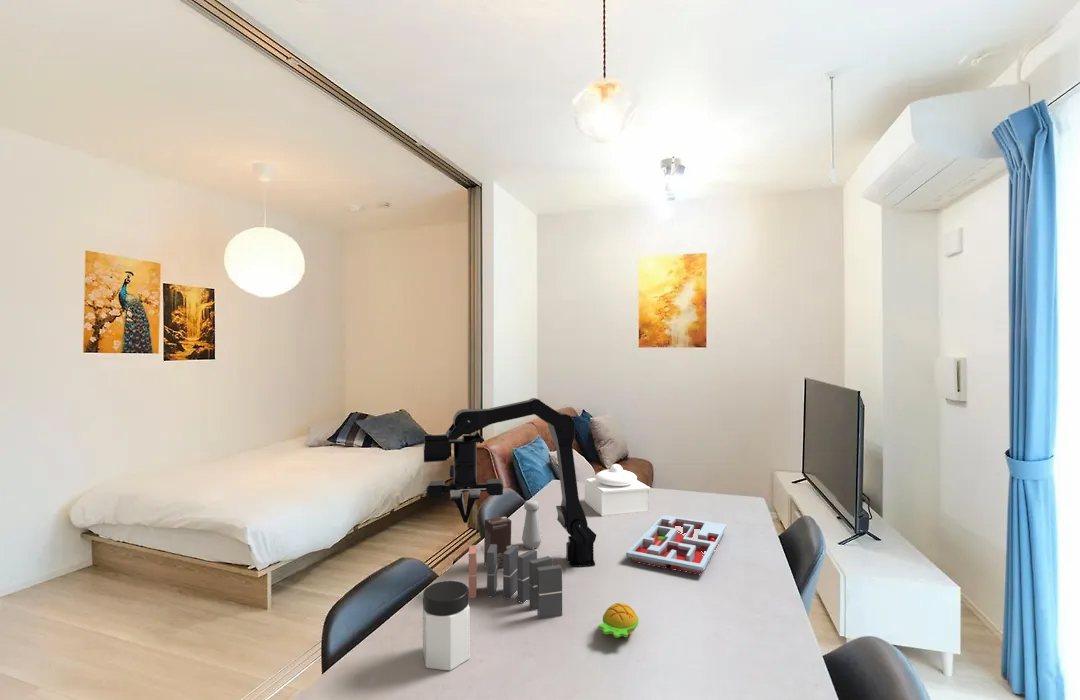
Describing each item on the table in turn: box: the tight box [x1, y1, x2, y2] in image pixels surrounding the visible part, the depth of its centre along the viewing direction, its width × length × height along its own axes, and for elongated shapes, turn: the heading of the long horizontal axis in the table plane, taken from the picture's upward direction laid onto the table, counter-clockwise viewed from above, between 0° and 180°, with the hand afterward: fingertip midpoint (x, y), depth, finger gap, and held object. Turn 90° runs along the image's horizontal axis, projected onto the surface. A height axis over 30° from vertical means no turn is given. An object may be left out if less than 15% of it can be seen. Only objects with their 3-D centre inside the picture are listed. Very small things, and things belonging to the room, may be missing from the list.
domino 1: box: [468, 544, 478, 599], centre depth 114 cm, size 2×5×10 cm, turn 6°
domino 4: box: [516, 549, 538, 604], centre depth 111 cm, size 2×5×10 cm, turn 141°
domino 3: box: [502, 545, 519, 599], centre depth 114 cm, size 2×5×10 cm, turn 159°
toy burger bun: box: [598, 602, 640, 639], centre depth 96 cm, size 7×10×5 cm
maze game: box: [625, 514, 728, 575], centre depth 140 cm, size 35×20×3 cm, turn 151°
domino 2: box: [486, 544, 498, 598], centre depth 115 cm, size 2×5×10 cm, turn 176°
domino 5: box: [528, 555, 553, 611], centre depth 108 cm, size 2×5×10 cm, turn 123°
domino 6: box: [536, 564, 563, 620], centre depth 104 cm, size 2×5×10 cm, turn 105°
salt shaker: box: [521, 499, 543, 550], centre depth 142 cm, size 6×6×13 cm
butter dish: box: [584, 463, 651, 517], centre depth 178 cm, size 18×18×16 cm
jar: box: [422, 580, 471, 671], centre depth 90 cm, size 9×8×12 cm
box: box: [483, 515, 512, 570], centre depth 129 cm, size 6×4×12 cm
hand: (465, 522), depth 124 cm, fingers closed
